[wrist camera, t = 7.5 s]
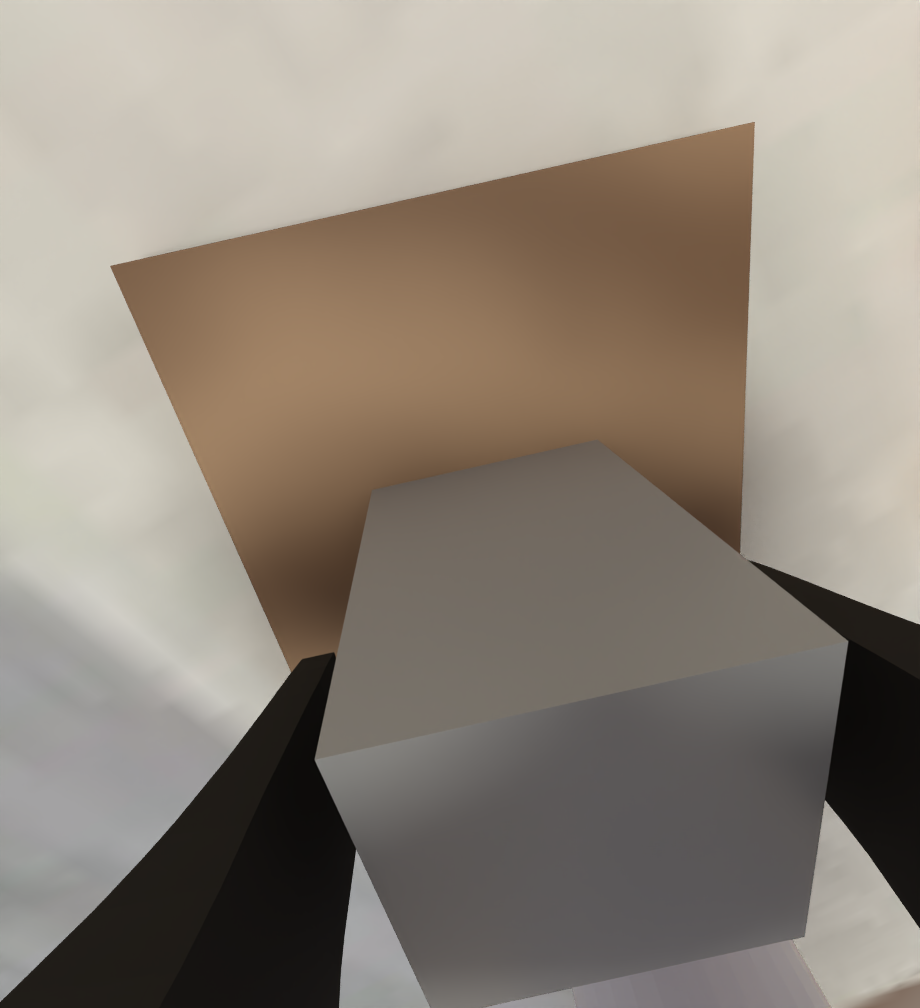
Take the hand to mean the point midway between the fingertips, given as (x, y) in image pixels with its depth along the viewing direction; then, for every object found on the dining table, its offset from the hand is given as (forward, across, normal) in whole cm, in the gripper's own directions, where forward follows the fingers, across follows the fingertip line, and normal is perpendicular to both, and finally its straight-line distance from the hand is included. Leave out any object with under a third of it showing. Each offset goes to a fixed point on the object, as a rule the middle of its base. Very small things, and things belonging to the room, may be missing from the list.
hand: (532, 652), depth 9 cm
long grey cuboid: (+3, 0, 0) cm, 3 cm away
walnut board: (+4, 0, 0) cm, 4 cm away
